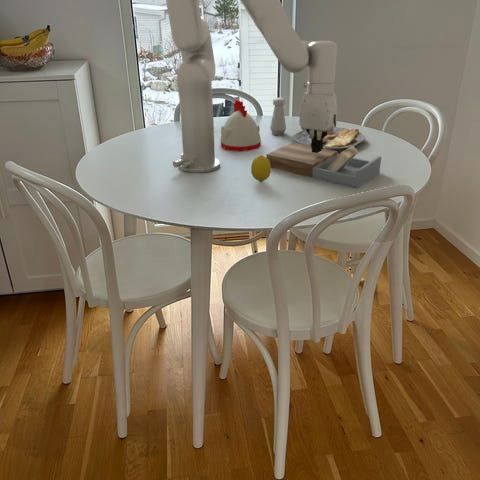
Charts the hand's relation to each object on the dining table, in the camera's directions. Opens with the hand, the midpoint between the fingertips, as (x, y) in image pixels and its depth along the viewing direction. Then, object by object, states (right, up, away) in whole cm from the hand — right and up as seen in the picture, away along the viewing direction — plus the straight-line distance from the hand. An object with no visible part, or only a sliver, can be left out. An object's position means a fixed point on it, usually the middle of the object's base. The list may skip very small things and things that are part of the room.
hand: (316, 151), depth 148 cm
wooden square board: (-4, -3, +5) cm, 7 cm away
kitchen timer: (-23, +6, +24) cm, 34 cm away
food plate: (+9, +8, +27) cm, 29 cm away
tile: (+6, -2, -4) cm, 8 cm away
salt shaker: (-9, +13, +36) cm, 39 cm away
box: (+8, -7, -3) cm, 11 cm away
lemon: (-17, -10, -7) cm, 21 cm away
